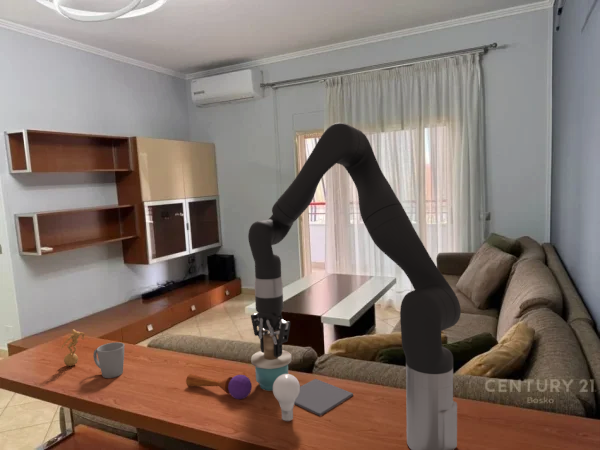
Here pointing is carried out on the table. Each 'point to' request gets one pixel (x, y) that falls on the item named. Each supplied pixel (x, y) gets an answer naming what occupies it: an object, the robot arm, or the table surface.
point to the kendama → (224, 384)
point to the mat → (320, 396)
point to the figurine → (71, 357)
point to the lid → (270, 355)
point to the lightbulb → (286, 394)
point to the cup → (110, 359)
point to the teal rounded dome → (269, 376)
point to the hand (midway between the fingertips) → (271, 353)
